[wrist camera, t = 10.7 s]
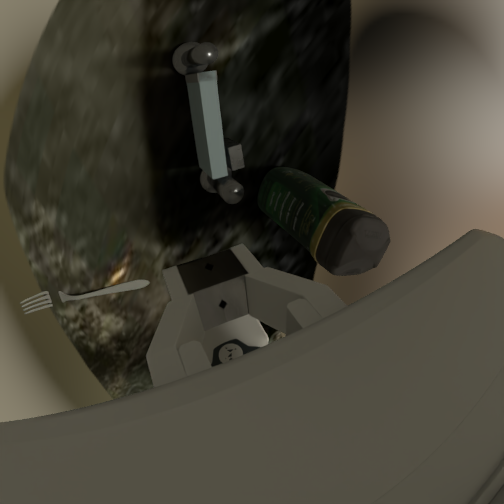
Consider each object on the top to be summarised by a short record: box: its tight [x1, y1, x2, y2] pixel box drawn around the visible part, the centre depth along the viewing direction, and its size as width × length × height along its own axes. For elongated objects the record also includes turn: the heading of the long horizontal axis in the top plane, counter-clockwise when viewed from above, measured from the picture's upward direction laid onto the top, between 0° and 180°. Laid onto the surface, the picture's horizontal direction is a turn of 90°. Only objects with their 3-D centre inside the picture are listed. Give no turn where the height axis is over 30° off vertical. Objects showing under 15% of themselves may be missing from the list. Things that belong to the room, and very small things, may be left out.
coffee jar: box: [257, 167, 390, 276], centre depth 36 cm, size 10×8×19 cm
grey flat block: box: [185, 71, 228, 179], centre depth 29 cm, size 12×2×6 cm, turn 5°
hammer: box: [200, 138, 245, 204], centre depth 34 cm, size 7×5×6 cm
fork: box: [20, 280, 149, 314], centre depth 37 cm, size 3×24×2 cm, turn 83°
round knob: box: [172, 42, 218, 75], centre depth 25 cm, size 4×4×6 cm
